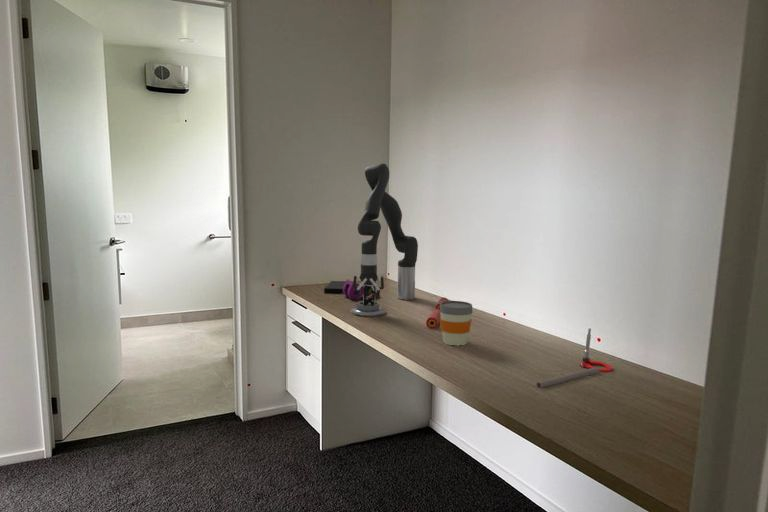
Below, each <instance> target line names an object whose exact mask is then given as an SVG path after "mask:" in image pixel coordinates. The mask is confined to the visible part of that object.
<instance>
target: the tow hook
mask: <svg viewBox="0 0 768 512" xmlns="http://www.w3.org/2000/svg"><path fill="white" fill-rule="evenodd" d="M591 332H592V329H591V328H588V330H587V334H586V342H585V350H584V351H583V357H582V362H580V364H579V366H580V367H581V368H584V367H585V368H586V369H591V368H595V366H593V365H597V366H601V367H604V368H599V367H598V368H599V373H609V372H612V370H613V367H612V366H611V365H610V364H608V363H605V362H602V361H597V360H592V359H591V358H590V346H591V337H592V334H591Z"/></svg>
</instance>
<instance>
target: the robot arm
mask: <svg viewBox="0 0 768 512" xmlns="http://www.w3.org/2000/svg"><path fill="white" fill-rule="evenodd" d="M364 177H365V180H366V181H367V184H368V185H369V187H370V189H371V191H372V192H371V193H370V194H369V195H368V198H367V199H366V202H365V207H364V212H363V215H362V217H361V218H360V220H359V222H358V224H357V231H358V234H359V235H361V236H364V237H365V236H366V237H368V236H370V237H371V239H369V240H363V241H362V242H361V255H360V275H356V274H355V275H354V276H353V281H352V282H353V288H354V289H357V297H358V298H360V288H361V287H362V286H365V285H374V286H375V288H376V292H377V297H376V299H379V298H380V296H381V290H384V289H385V283H384V281H385V280H384V276H383V275H380V276H378V255H377V254H378V250H377V247H378V241H379V240H378V239H379V237H380V233H381V229H382V225H381V223H380V221H378V220H377V219H379V216H380V211H381V213H382V215H383V217H384V219H385V222H386V225H387V227H388V228H389V231H390V235H391V237H392V241H393V245H394V247H395V249H396V251H397V252H399V253H402V254H403V255H404V256H403V257H402V259H399V260H398V261H397V288H396V289H397V290H396V291H397V293H396V298H397V299H399V300H403V299H404V300H406V301H409V299H410V300H415V299H416V294H415V293H416V263H417V261H418V260H417V259H418V249H419V244H418V239H417V238H416V237H415V236H410V235H405V232H404V231H403V229H402V225H401V224H402V219H403V214H402V213H403V212H402V209H401V207H400V205H399V202H398V201H397V199H396V198H395V197H393V196H392V195H390V194H389V193H388V192H386V188H387V185H388V183H389V180H390V168H389V167H388V165H387V164H385V163H377V164H373V165H369V166H367V167H365V169H364ZM358 280H360V281H361V282H360V283H359V286H356V283H357V281H358ZM377 280H379V281H380V285H379V284H378V283H377ZM360 299H361V298H360Z"/></svg>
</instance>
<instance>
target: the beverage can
mask: <svg viewBox="0 0 768 512" xmlns="http://www.w3.org/2000/svg"><path fill="white" fill-rule="evenodd" d="M375 292H377V289H376V287H375V286H374V285H363V295H362V298H363V299H362V301H363V305H375V301H376V296H375Z"/></svg>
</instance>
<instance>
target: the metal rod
mask: <svg viewBox="0 0 768 512" xmlns="http://www.w3.org/2000/svg"><path fill="white" fill-rule="evenodd" d="M594 367H595V366H594ZM598 373H600V372H599V367H595V368H591V369H588V368H586V369H584V370H579V371H575V372H573V373H568V374H564V375H561V376H557V377H552V378H548V379H545V380H541V381H537V382H536V387H537V388H539V389H543V388H547V387H550V386H554V385H559V384H562V383H565V382H569V381H573V380H577V379H580V378H584V377H588V376H591V375H596V374H598Z"/></svg>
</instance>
